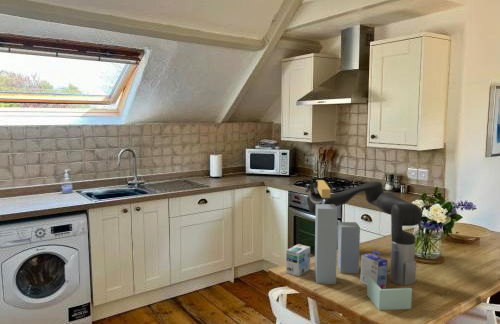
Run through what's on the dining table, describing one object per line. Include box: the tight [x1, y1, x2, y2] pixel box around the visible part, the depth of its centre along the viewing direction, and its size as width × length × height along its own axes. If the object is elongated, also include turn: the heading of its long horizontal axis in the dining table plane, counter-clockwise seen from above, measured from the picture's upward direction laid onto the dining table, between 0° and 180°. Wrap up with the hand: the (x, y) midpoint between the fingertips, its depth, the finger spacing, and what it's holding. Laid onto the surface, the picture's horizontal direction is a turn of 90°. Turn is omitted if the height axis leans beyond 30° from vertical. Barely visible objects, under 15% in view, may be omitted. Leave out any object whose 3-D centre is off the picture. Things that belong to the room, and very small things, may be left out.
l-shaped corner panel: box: [366, 277, 413, 311], centre depth 150 cm, size 12×12×8 cm
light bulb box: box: [285, 243, 311, 277], centre depth 179 cm, size 11×7×11 cm, turn 143°
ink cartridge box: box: [359, 249, 388, 289], centre depth 164 cm, size 10×6×14 cm, turn 28°
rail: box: [315, 179, 331, 199], centre depth 177 cm, size 22×4×4 cm, turn 177°
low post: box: [337, 221, 361, 274], centre depth 180 cm, size 8×8×21 cm
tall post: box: [314, 203, 339, 285], centre depth 169 cm, size 8×8×32 cm
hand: (321, 183), depth 182 cm, fingers closed on rail, 3 cm apart
